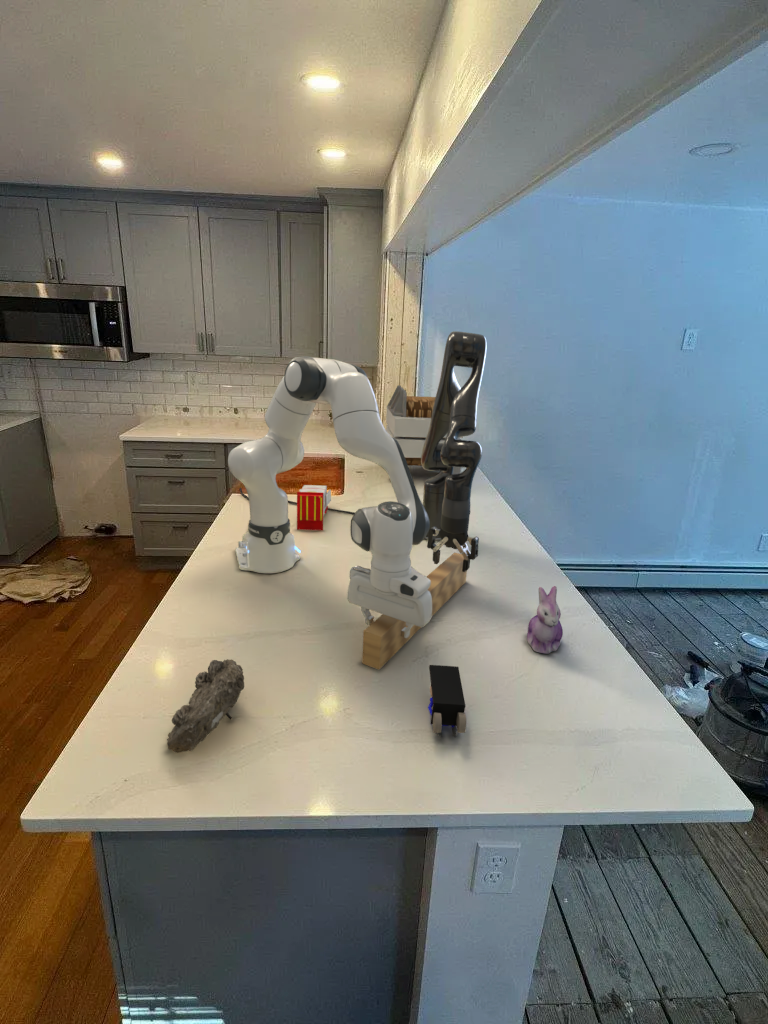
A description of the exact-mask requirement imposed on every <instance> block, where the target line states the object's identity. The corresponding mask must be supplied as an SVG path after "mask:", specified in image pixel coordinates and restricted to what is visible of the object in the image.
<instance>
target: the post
mask: <svg viewBox="0 0 768 1024" xmlns="http://www.w3.org/2000/svg"><path fill="white" fill-rule="evenodd" d="M463 560H464V557H463V556H462V554H461V553H460V552H453V553H452V554H451V555H450V556H448V557H447V558H446V559H445V560H443V561H442V563H440V564H439V565H438V566H437V567H435V569H433V570H432V571H431V572H430V573H429V574H427V576H426V577H427V578H429V579H430V581H431V585H430V587H429V588H428V591H429V592H430V594H431V597H432V617H433V616H435V614H436V613H437V612H438V611H439V610H440V609H441V608H442V607H443V606H444V605H445V604H446V603H447V602H448V601H449V600H450V599H451V598H452V597H453V596H454V595H455V594H456V593H457V592H458V591H459V590H460V589H461V588H462V587H463V585H465V584H466V582H467V576H468V575H467V574H468V570H467V571H466V572H462V568H463ZM404 627H408V626H406V622H404V621H401V620H398V619H395V618H393V617H390V616H387V615H384V614H381V615H380V616H379V617H377V618H376V619H374V622H373V623H372V624H371V625H367V627H366V628H365V629H363V634H362V638H363V639H362V662H361V663H362V664H363V665H365V666H368V667H370V668H374V669H376V670H381V669H382V668H383V667H384V666H385V665H386V664H387V663H388V661H389V660H391V658H392V657H394V656H395V654H396V653H397V652H399V651H400V649H402V647H403V646H405V644H406V643H408V641H410V639H412V637H413V636H414V635H415V634H416V633H418V631H419V630H420V629H422V627H419V626H416V625H414V626H413V627H412V628H411V629H410V635H409V637H408V638H404V637H401V630H402V629H403V628H404Z"/></svg>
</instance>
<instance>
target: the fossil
mask: <svg viewBox="0 0 768 1024" xmlns="http://www.w3.org/2000/svg"><path fill="white" fill-rule="evenodd" d="M243 670H244V669H243V667H242V665H240V664H237V662H236V661H235V660H234V659H232V658H231V659H227V658H226V659H224V660H223V661H222V660H217V659H212V660H211V661H210V663H209V665H208V666H207V671H201V672H199V673H198V674H197V675H196V676H195V680H194V684H195V685H194V687H195V689H194V690H193V693H192V694H191V697H190V698H189V700H188V704H184V705H182V706H181V707H180V709H177V710H176V711H175V713H174V715H173V716H172V718H171V723H172V724H173V727H172V730H171V731H170V732H168V734H167V738H166V741H167V742H166V745H167V749H168V750H169V751H173V752H174V753H176V754H178V753H182V752H188V751H189V752H192V751H193V750H195V748H196V747H197V746H199V744H200V743H201V742H203V741H204V740H205V739H206V738H207V737H208V736H209V735H210V734H211V733H212V732H214V730H215V729H217V727H218V726H219V724H220V722H221V721H222V720H223V719H224V718H225V716H226V717H227V719H229V720H233V717H232V715H230V714H229V710H230V709H231V708H234V706H235V704H236V703H237V702H238V699H239V697H240V695H241V693H242V691H243V690H245V689H244V688H245V675H244V671H243Z"/></svg>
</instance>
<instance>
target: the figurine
mask: <svg viewBox="0 0 768 1024" xmlns="http://www.w3.org/2000/svg"><path fill="white" fill-rule="evenodd" d="M557 592H558V588H557V586H556V585H553V586H551V588H550V590H549V593H548V594H547V592H546V591H545V589H544V588H543V587H542V586H539V587H538V601H539V603H538V604H539V605H538V606H537V609H536V614H535V615H534V616H532V617H531V618H530V619H529V621H528V625H527V634H526V641H527V644H528V645H529V646H530V647H531V648H532V650H533V651H534V652H535V653H540V654H545V655H546V654H550V653H551V652H556V651H557V650H558V649H559V647H560V644H561V640H562V638H563V637H564V636H563V635H564V633H563V632H564V630H563V626H562V624H561V621H560V620H561V615H562V614H561V609H560V607H559V604H558V603H557Z"/></svg>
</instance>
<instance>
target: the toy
mask: <svg viewBox="0 0 768 1024" xmlns="http://www.w3.org/2000/svg"><path fill="white" fill-rule="evenodd" d="M296 502H297V505H296V530H297V531H324V516H325V514H327V512H328V510H327V509H328V508H329V504H330V503H331V502H332V489H328V486H327V485H319V484H316V485H315V484H313V485H312V484H303V486H302V488H300V489H299V491H297V492H296Z"/></svg>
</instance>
